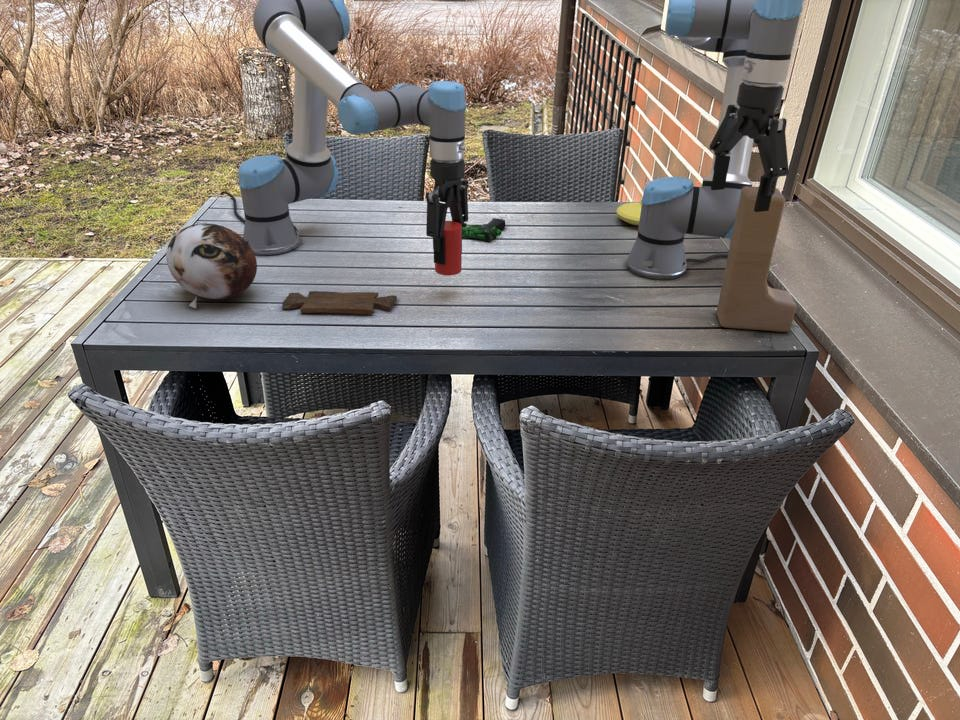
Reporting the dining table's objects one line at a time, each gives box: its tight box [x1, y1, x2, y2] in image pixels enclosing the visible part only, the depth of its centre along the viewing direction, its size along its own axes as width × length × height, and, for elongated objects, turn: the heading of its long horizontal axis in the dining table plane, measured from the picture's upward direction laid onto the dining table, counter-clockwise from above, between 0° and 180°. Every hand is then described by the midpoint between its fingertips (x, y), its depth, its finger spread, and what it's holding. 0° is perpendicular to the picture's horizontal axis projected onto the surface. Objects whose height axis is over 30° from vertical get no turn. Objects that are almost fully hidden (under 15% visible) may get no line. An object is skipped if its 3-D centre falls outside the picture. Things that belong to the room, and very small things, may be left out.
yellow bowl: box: [616, 198, 642, 227], centre depth 215 cm, size 16×16×7 cm
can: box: [434, 220, 463, 277], centre depth 165 cm, size 6×6×11 cm
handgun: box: [462, 217, 506, 242], centre depth 207 cm, size 16×3×15 cm
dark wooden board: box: [281, 290, 398, 315], centre depth 165 cm, size 26×2×10 cm
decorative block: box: [716, 186, 797, 333], centre depth 153 cm, size 8×15×30 cm, turn 82°
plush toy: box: [165, 222, 258, 309], centre depth 165 cm, size 22×18×20 cm
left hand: (448, 258), depth 166 cm, fingers closed on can, 6 cm apart
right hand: (738, 199), depth 138 cm, fingers open, 13 cm apart
